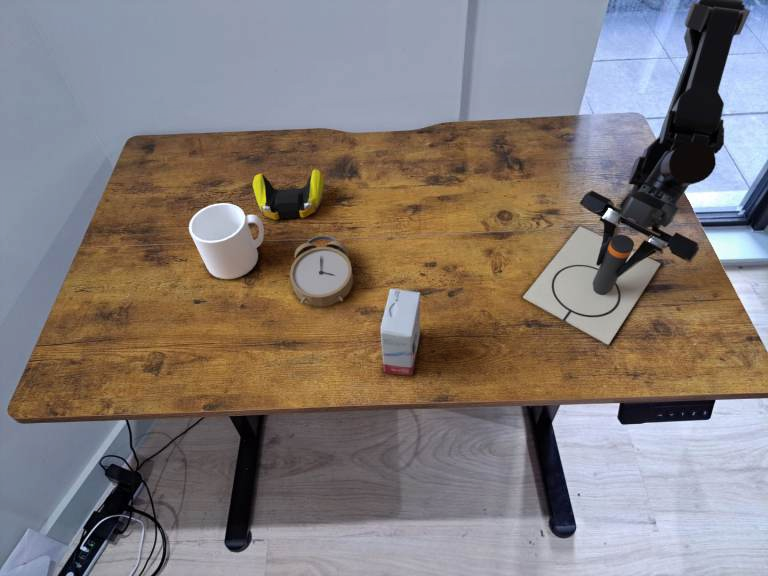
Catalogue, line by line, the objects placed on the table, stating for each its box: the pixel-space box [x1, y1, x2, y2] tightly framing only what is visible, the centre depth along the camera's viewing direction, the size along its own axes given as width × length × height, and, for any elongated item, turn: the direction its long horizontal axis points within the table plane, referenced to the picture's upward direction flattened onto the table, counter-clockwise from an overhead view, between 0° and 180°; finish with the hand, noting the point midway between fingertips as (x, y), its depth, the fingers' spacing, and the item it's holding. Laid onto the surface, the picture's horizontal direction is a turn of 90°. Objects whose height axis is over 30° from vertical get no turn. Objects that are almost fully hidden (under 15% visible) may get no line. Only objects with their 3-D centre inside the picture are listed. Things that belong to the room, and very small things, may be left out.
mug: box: [188, 202, 265, 280], centre depth 95 cm, size 13×10×10 cm
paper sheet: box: [522, 226, 661, 346], centre depth 92 cm, size 22×16×1 cm
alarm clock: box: [289, 234, 354, 307], centre depth 94 cm, size 11×5×15 cm
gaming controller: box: [252, 168, 326, 221], centre depth 106 cm, size 15×6×10 cm
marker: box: [593, 234, 635, 295], centre depth 85 cm, size 4×4×12 cm
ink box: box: [380, 288, 421, 377], centre depth 80 cm, size 9×5×12 cm, turn 168°
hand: (607, 270), depth 85 cm, fingers closed on marker, 3 cm apart
